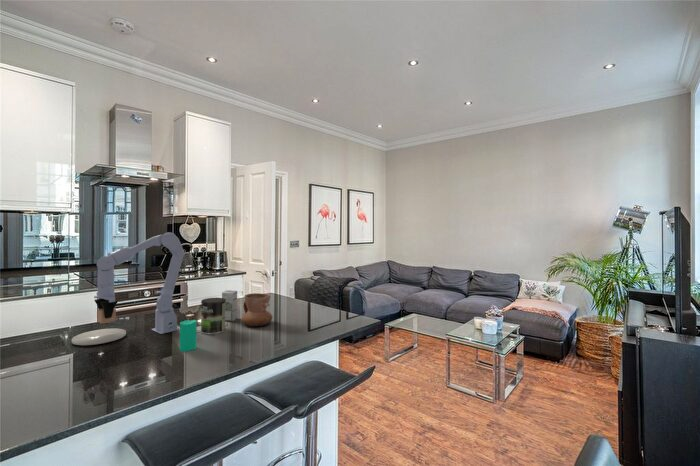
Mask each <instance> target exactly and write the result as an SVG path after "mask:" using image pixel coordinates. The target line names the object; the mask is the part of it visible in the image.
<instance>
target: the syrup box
mask: <svg viewBox="0 0 700 466" xmlns="http://www.w3.org/2000/svg"><path fill="white" fill-rule="evenodd" d="M221 298H224V299H226V302H225V322H234V321H236V319H237V318H238V290H231V289H230V290H227V289H226V290H224V291H222V292H221Z"/></svg>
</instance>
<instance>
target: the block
mask: <svg viewBox="0 0 700 466" xmlns="http://www.w3.org/2000/svg"><path fill="white" fill-rule="evenodd" d="M116 310H117V309H116V308H114V310H113V314H112V317H111V318H105V316H104V310H103V309H98V308H97V311H96V314H97V315H96V318H97V322H98V323H100V324H107V323H112V322H116V321H117V320H116V319H117V314H116V313H117V311H116Z"/></svg>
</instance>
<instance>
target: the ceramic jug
mask: <svg viewBox="0 0 700 466" xmlns="http://www.w3.org/2000/svg"><path fill="white" fill-rule="evenodd" d="M243 298H244V302H243V305H242V307H243V310H244V311H243V312H244V314H242V316H241V322H242V323H243V325H245V326H249V327H262V326H265V325H267V324H269V323H270V322H272V321H273V314H272V313H271V312H269V311H267V308H268V307H270V306H271V304H270V303H269V302H270V300H271V294H268V293H257V292H256V293H247V294H245V295H244V297H243Z"/></svg>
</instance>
